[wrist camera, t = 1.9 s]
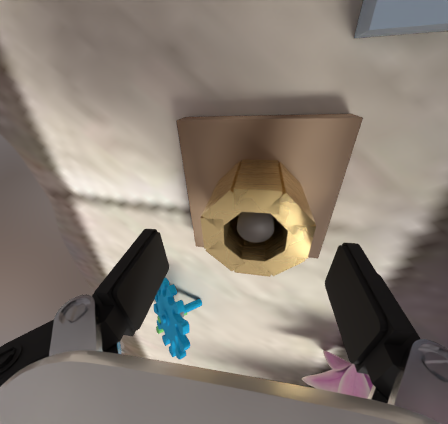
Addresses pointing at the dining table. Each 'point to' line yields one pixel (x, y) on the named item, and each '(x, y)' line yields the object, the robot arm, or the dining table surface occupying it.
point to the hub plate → (401, 17)
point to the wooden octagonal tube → (259, 203)
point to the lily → (341, 378)
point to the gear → (173, 319)
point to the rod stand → (269, 150)
